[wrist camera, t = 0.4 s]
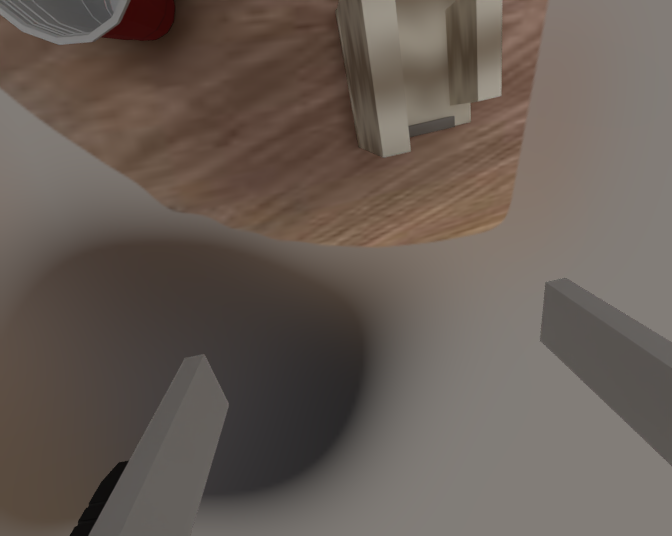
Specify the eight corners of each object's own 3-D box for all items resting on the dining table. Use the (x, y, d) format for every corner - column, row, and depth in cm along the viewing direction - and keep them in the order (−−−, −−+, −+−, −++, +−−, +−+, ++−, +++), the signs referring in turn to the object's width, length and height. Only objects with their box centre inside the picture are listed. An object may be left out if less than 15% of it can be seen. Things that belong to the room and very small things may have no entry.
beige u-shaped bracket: (335, 11, 29) (350, -65, 17) (462, -20, 29) (565, -119, 17) (358, 147, 34) (382, 158, 22) (467, 122, 34) (548, 119, 22)
